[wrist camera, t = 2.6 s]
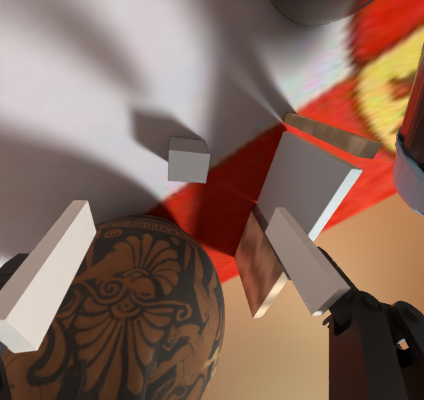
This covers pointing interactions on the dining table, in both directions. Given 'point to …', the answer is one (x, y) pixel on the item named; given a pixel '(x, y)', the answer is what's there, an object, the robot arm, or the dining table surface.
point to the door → (306, 183)
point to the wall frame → (256, 225)
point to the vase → (130, 321)
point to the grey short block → (188, 160)
